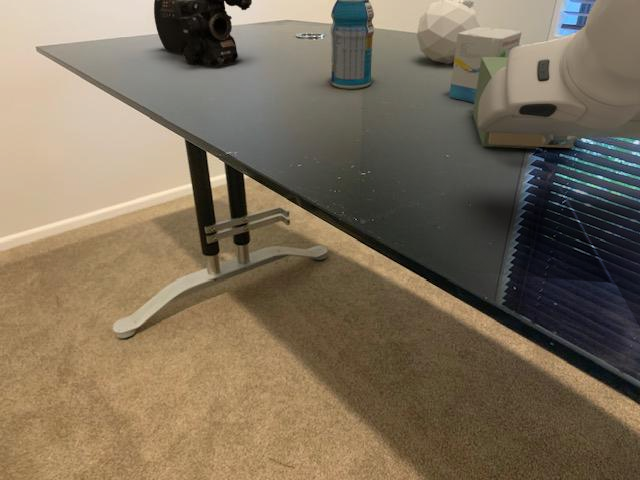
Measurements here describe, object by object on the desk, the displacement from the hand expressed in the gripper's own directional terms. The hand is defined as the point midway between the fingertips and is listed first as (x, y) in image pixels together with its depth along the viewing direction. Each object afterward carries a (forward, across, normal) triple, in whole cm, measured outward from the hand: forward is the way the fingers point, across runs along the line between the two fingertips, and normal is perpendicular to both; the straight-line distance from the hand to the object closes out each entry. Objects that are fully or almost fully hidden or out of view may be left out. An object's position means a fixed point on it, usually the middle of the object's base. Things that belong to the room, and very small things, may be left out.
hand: (554, 139), depth 61 cm
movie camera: (+49, +68, -40) cm, 93 cm away
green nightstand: (+18, 0, -9) cm, 20 cm away
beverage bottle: (+35, +29, -26) cm, 52 cm away
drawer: (+14, 0, -7) cm, 16 cm away
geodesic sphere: (+50, +9, -42) cm, 66 cm away
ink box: (+30, +4, -22) cm, 38 cm away
